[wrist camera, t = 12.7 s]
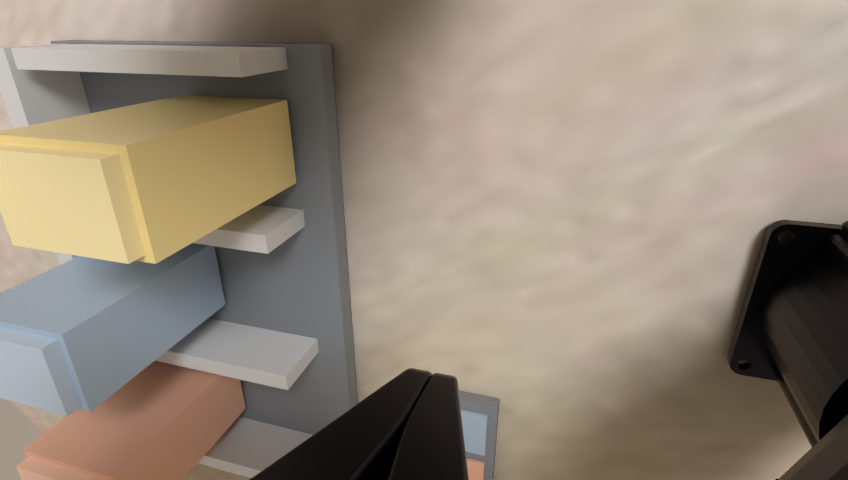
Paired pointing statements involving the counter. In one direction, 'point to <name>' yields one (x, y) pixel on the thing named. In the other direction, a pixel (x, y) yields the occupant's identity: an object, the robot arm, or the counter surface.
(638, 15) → the counter surface
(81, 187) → the yellow block
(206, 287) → the pale blue block
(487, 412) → the tile
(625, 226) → the counter surface
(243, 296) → the grey divided tray
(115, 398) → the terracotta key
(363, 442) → the robot arm
